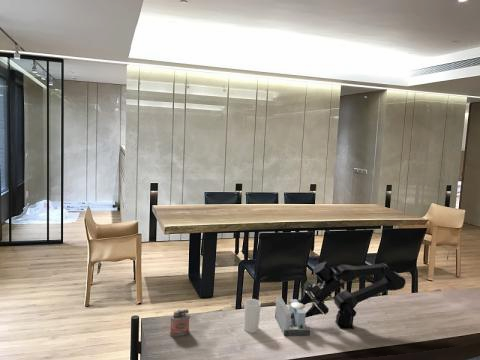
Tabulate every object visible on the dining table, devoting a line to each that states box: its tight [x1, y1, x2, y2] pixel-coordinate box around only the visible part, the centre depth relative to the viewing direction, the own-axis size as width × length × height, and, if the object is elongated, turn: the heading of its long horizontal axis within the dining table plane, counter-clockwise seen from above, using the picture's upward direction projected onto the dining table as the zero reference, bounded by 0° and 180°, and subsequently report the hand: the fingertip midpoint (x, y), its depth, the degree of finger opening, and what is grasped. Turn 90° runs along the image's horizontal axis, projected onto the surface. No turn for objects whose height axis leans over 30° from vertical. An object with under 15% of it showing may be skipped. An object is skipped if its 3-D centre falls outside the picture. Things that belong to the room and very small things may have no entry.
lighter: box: [169, 308, 191, 337], centre depth 164 cm, size 8×3×10 cm, turn 117°
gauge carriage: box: [288, 298, 306, 328], centre depth 175 cm, size 6×15×9 cm, turn 9°
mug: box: [243, 298, 262, 333], centre depth 173 cm, size 10×7×12 cm, turn 10°
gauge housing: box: [274, 295, 311, 337], centre depth 176 cm, size 11×17×10 cm, turn 9°
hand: (301, 311), depth 176 cm, fingers open, 9 cm apart
